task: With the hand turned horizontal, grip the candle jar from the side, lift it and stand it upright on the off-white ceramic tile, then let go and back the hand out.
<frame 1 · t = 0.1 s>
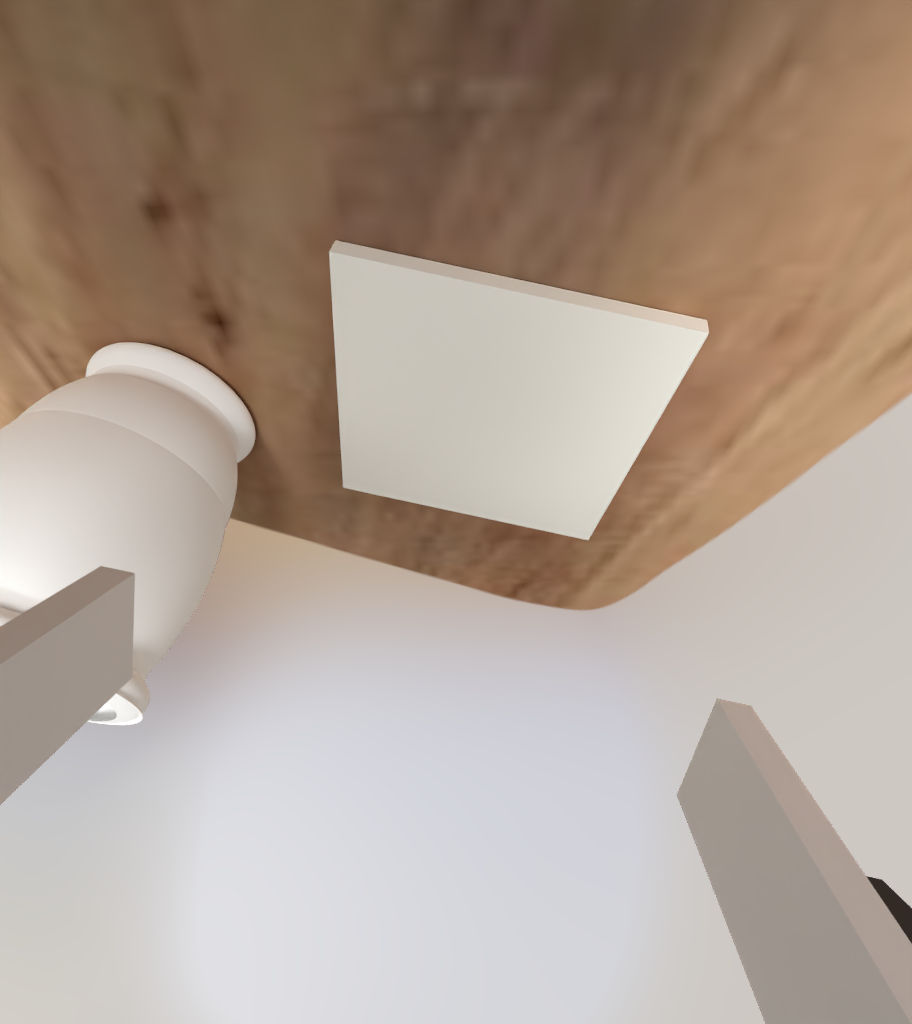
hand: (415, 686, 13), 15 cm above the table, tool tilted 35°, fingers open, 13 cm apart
jar: (179, 402, 30), on the table
ceramic tile: (488, 415, 27), on the table
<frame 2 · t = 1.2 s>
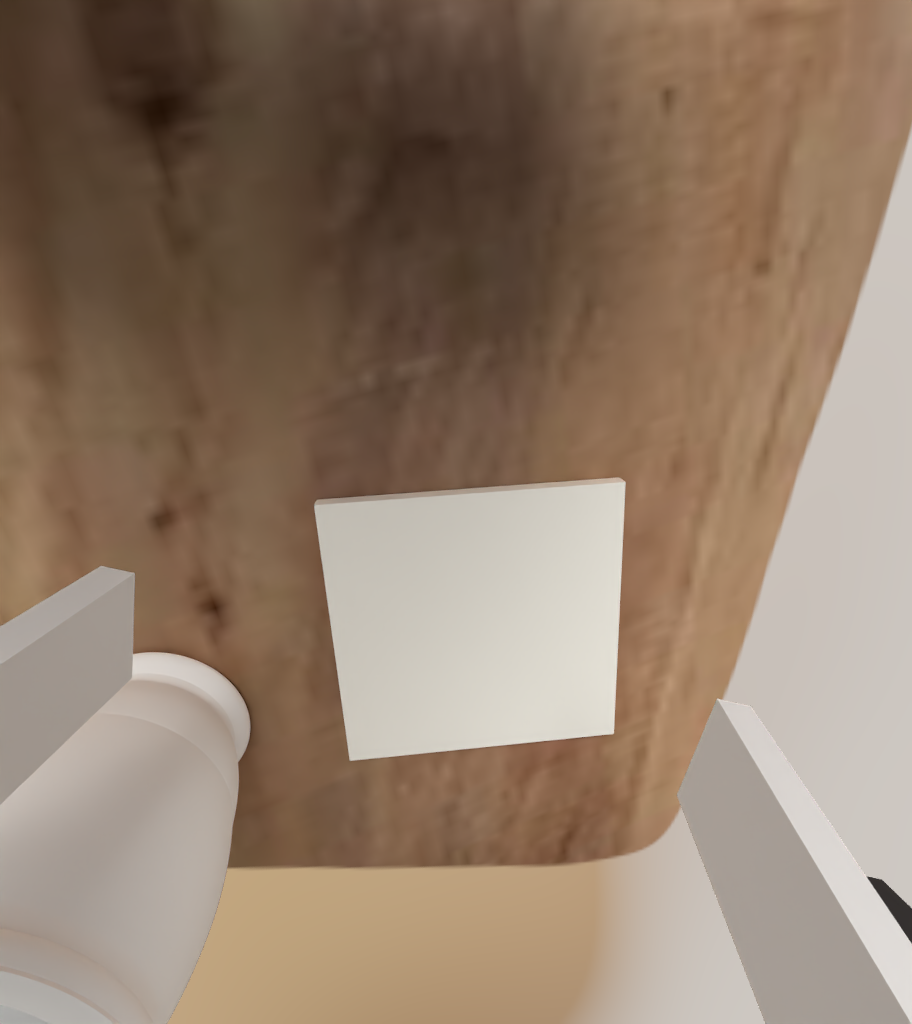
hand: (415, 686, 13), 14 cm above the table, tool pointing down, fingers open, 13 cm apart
jar: (167, 716, 29), on the table
ceramic tile: (476, 622, 29), on the table
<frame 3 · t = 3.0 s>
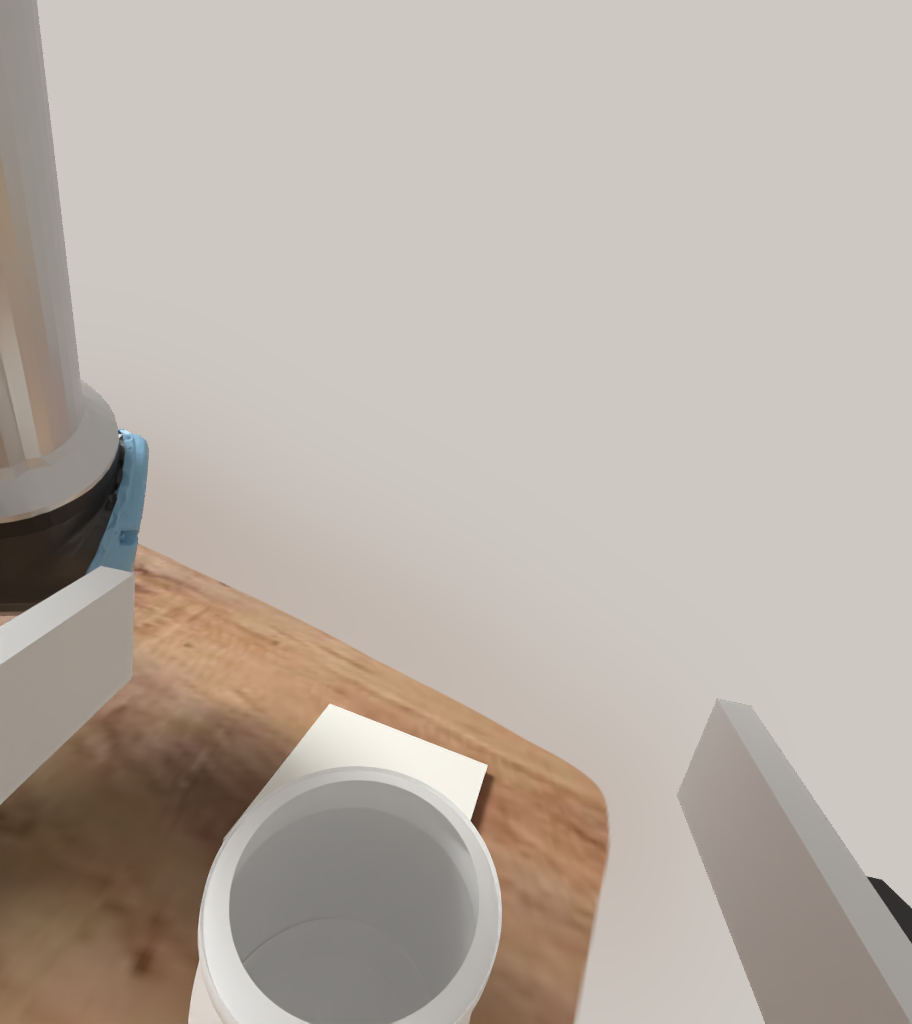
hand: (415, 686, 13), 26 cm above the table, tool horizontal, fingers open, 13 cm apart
ceramic tile: (370, 805, 41), on the table
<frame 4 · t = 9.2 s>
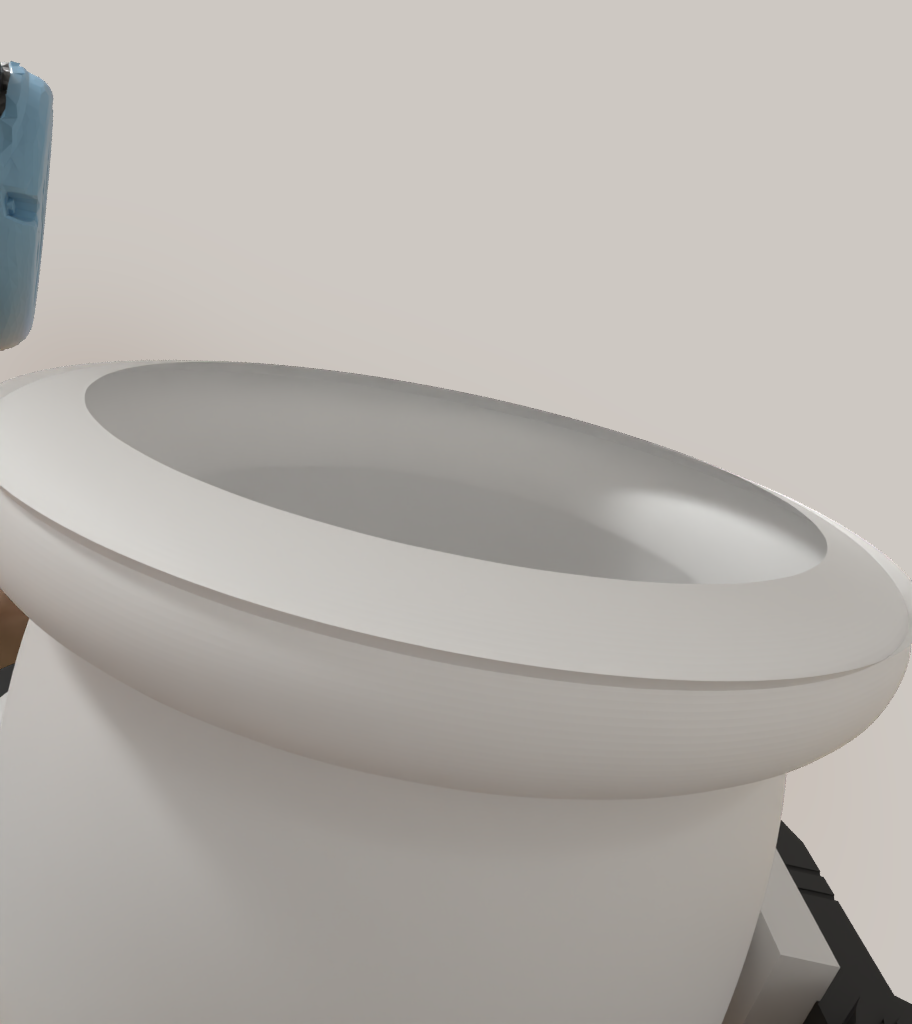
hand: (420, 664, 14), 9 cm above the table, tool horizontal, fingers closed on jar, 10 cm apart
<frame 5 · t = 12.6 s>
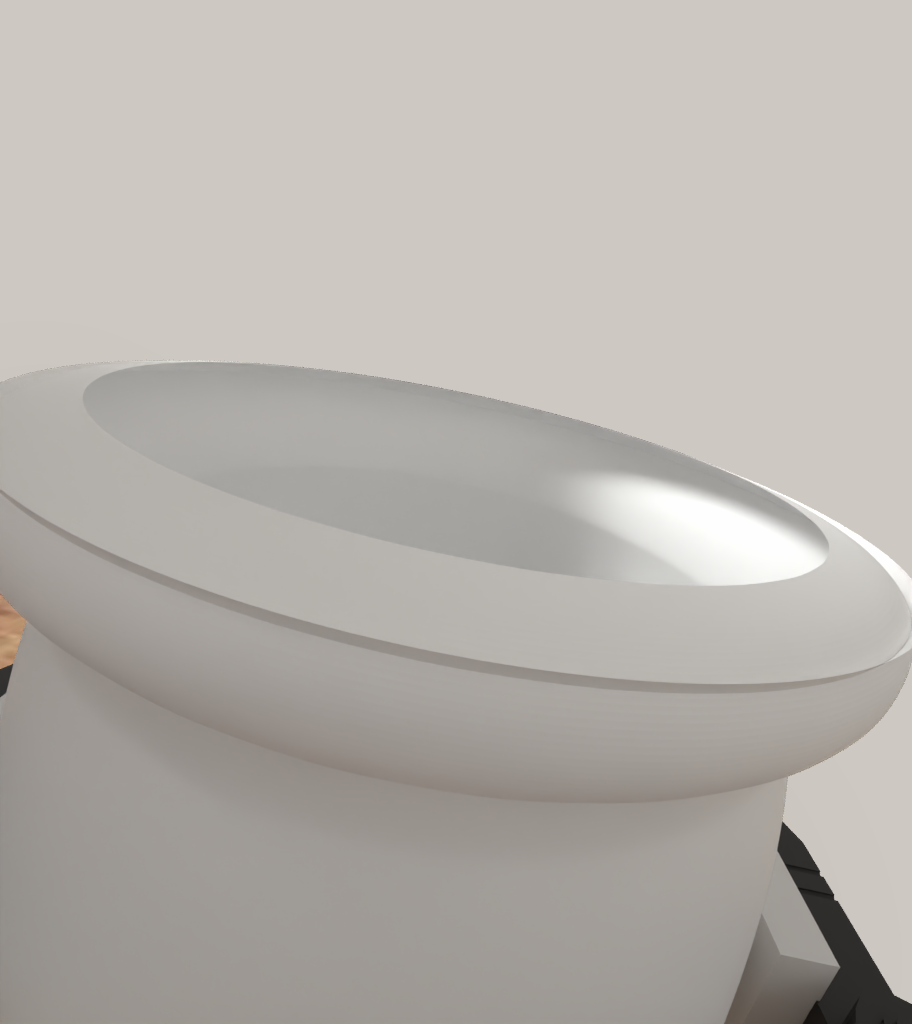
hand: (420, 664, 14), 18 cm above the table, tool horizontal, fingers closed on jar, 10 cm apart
when the fingers open (11 cm above the table, at t = 16.2 s): jar drops 1 cm, resting on ceramic tile.
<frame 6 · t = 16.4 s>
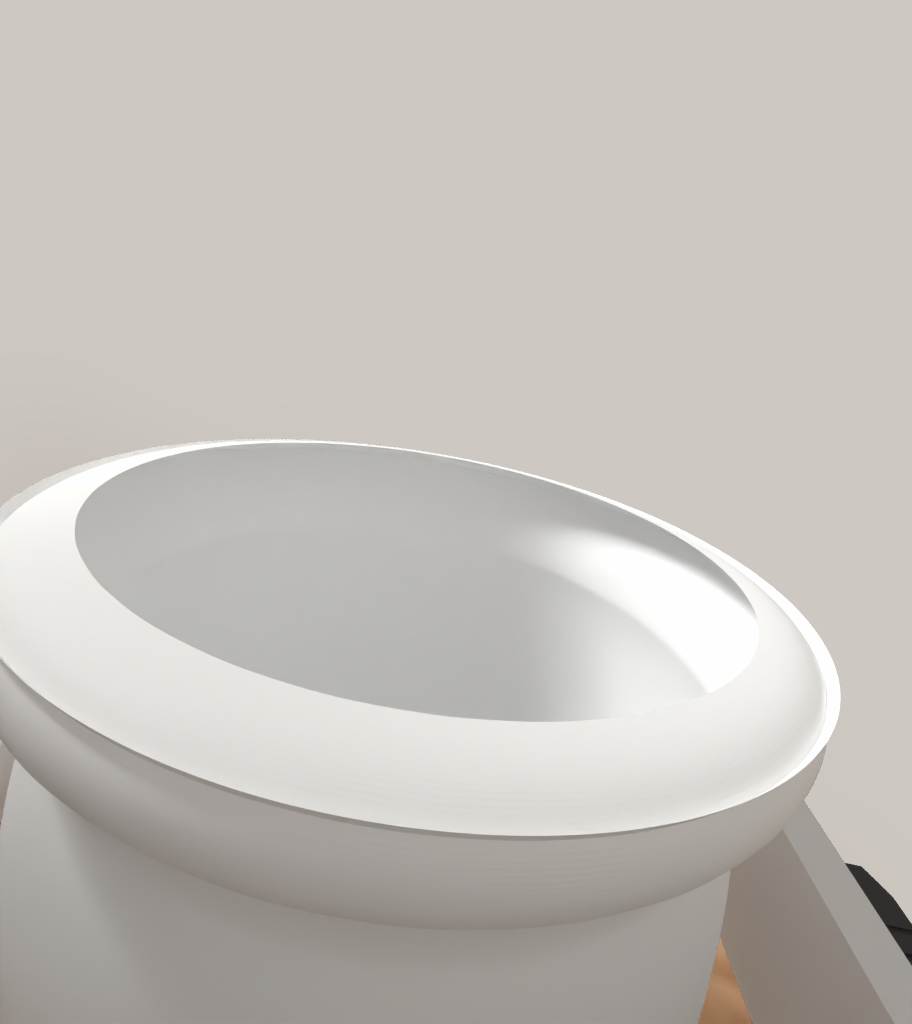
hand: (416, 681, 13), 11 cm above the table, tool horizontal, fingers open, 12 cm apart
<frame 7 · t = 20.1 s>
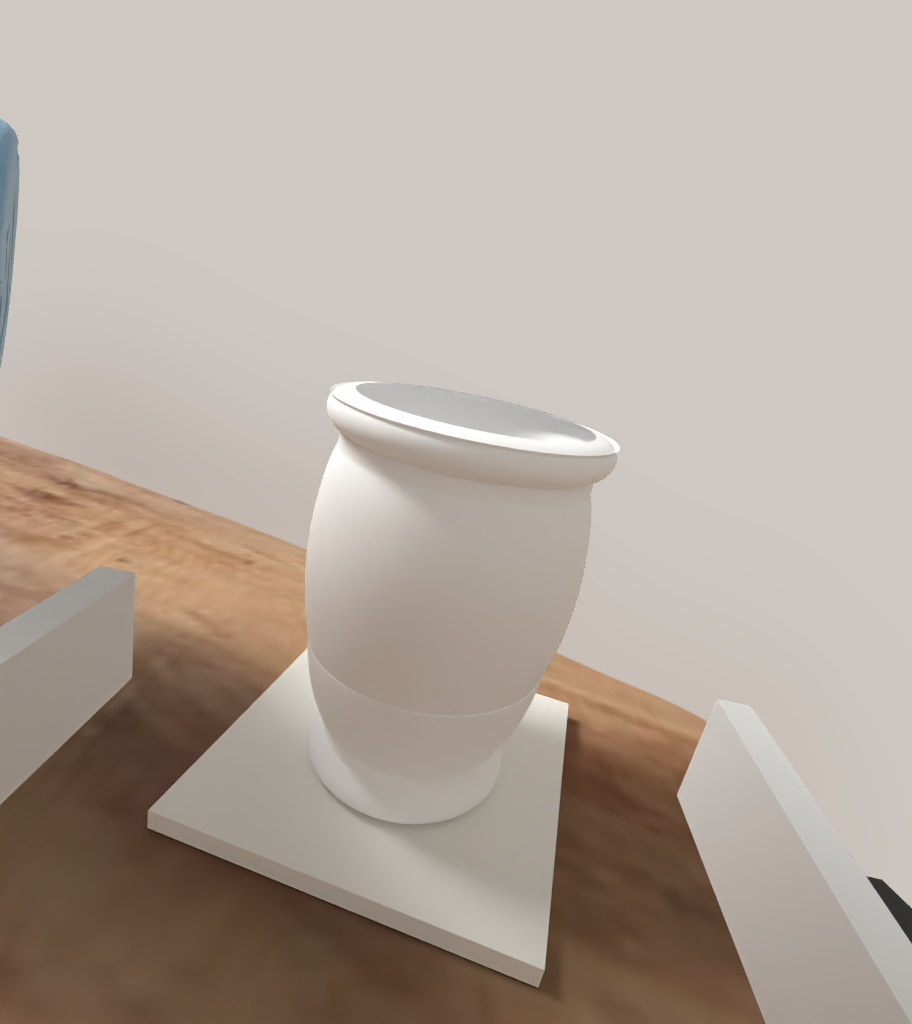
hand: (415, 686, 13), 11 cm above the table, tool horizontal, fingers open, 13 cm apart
jar: (404, 751, 25), point 1 cm above the table, touching ceramic tile
ceramic tile: (400, 760, 25), on the table
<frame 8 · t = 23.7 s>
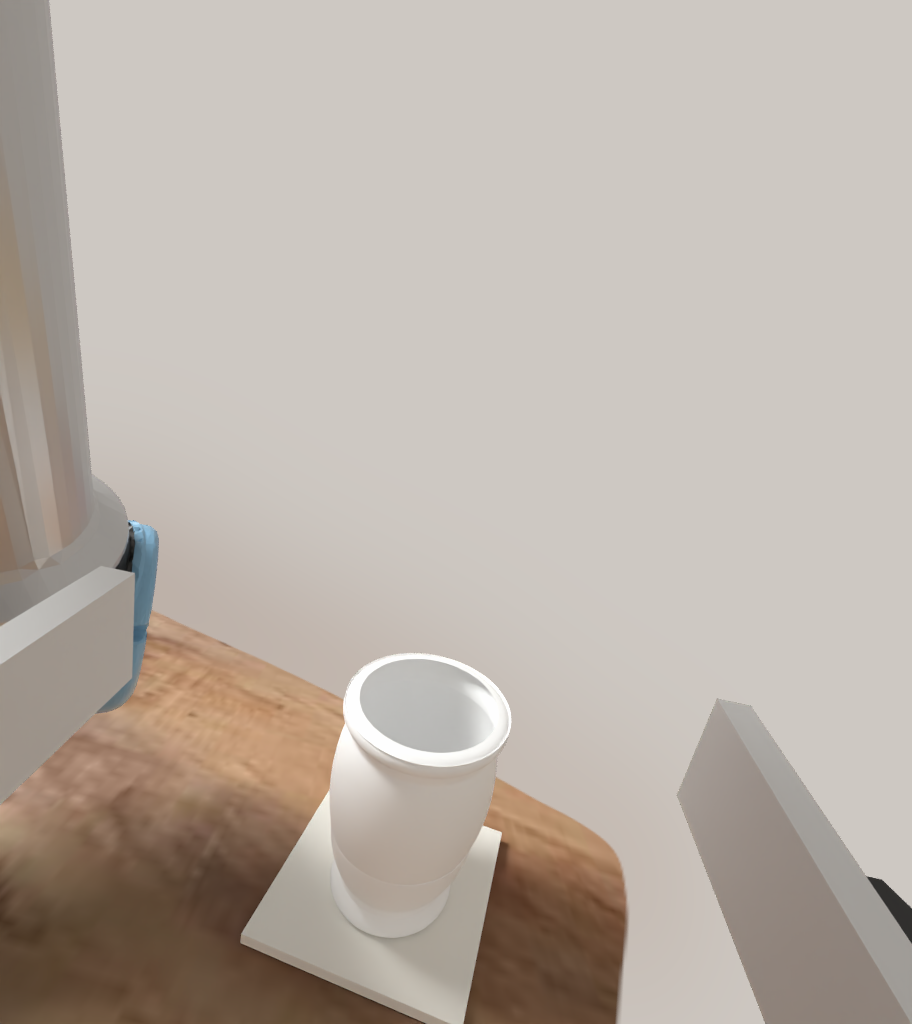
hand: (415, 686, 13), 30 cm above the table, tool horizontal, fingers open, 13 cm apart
jar: (390, 880, 40), point 1 cm above the table, touching ceramic tile
ceramic tile: (387, 884, 40), on the table
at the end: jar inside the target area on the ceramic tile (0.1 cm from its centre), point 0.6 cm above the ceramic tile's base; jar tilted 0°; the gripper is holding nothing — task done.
